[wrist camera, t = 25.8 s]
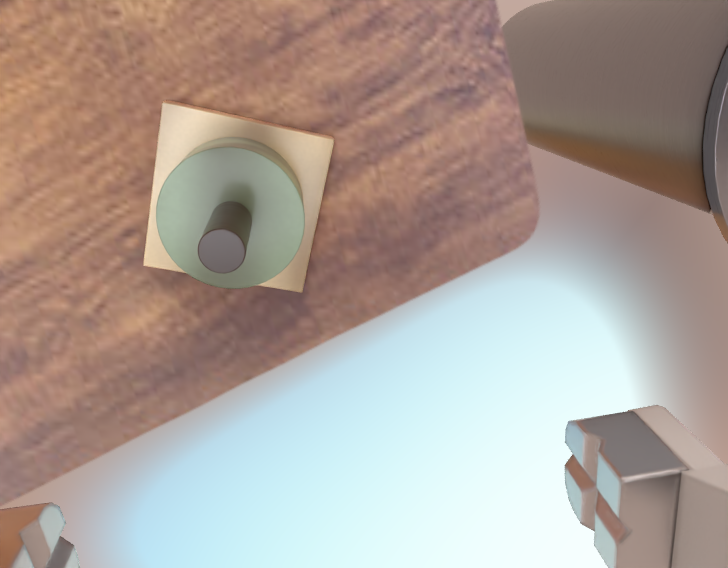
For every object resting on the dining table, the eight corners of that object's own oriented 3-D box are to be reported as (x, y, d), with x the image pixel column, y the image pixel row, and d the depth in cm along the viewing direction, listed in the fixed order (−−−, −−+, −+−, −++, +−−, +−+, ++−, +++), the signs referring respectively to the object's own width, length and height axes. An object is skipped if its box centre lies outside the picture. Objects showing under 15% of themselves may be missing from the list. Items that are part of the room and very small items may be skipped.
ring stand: (332, 136, 38) (350, 168, 28) (301, 284, 41) (306, 362, 31) (166, 99, 36) (119, 118, 26) (147, 258, 39) (99, 331, 29)
